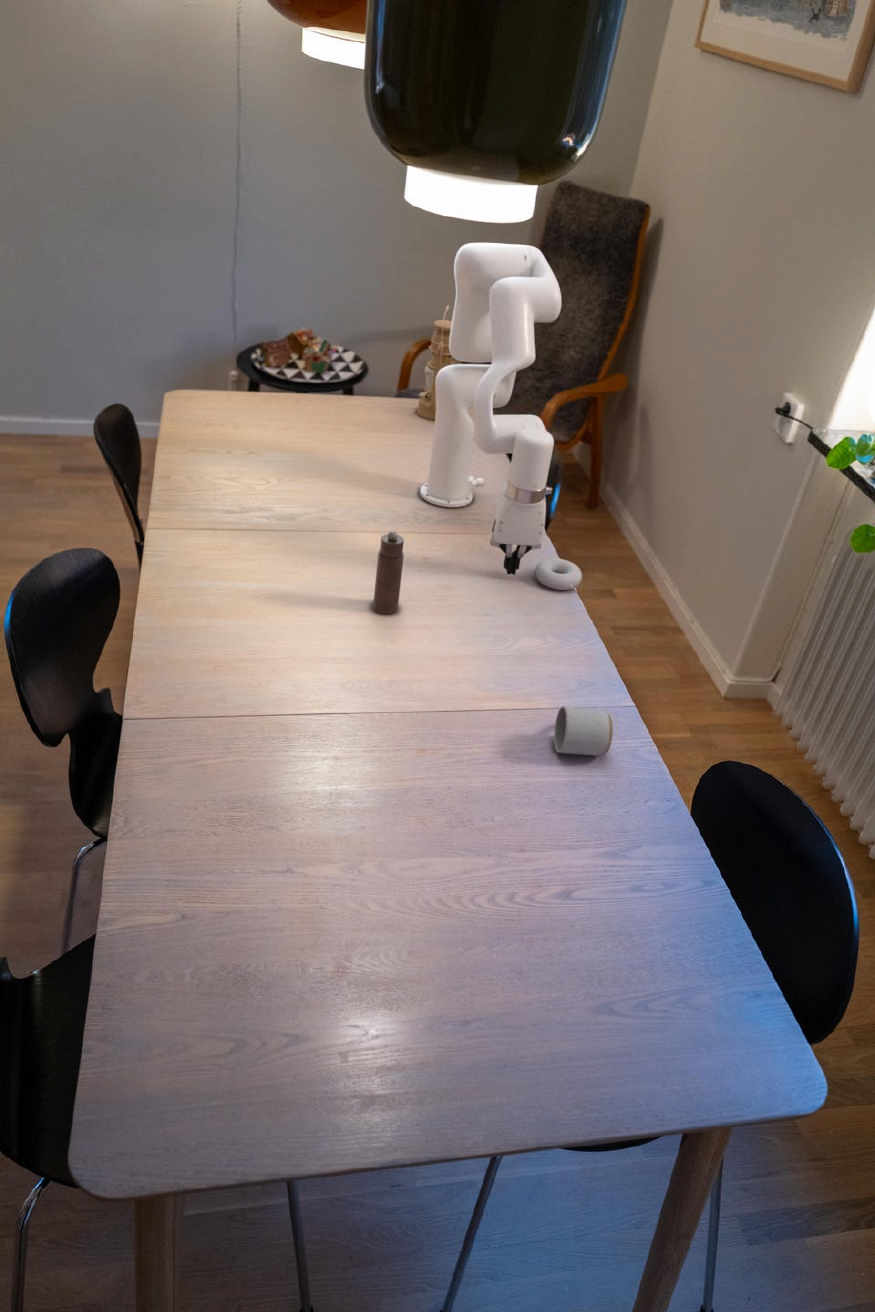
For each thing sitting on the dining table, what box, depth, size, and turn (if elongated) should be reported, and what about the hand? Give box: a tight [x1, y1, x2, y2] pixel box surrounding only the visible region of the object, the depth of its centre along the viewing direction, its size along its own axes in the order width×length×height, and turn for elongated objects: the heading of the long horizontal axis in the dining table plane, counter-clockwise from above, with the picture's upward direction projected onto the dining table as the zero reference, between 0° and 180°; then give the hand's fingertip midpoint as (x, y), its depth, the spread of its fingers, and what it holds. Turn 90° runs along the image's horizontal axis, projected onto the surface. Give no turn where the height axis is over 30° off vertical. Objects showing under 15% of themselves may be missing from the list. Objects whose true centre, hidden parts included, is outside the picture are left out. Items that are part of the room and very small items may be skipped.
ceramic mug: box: [553, 705, 614, 757], centre depth 162 cm, size 11×8×8 cm
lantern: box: [416, 305, 455, 421], centre depth 275 cm, size 15×10×30 cm
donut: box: [534, 557, 583, 591], centre depth 209 cm, size 10×4×10 cm
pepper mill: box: [372, 530, 405, 615], centre depth 188 cm, size 5×5×16 cm
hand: (510, 571), depth 208 cm, fingers closed
